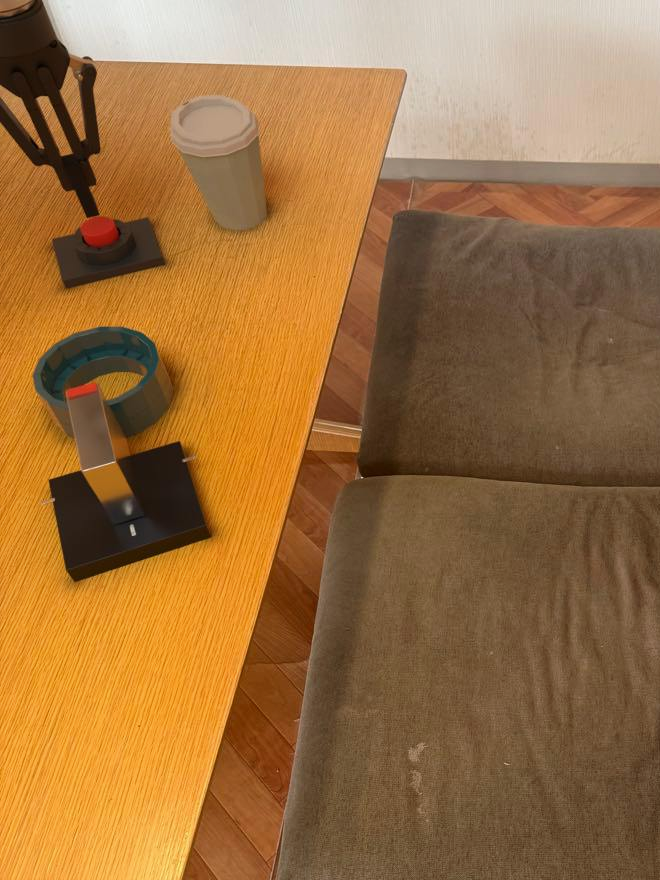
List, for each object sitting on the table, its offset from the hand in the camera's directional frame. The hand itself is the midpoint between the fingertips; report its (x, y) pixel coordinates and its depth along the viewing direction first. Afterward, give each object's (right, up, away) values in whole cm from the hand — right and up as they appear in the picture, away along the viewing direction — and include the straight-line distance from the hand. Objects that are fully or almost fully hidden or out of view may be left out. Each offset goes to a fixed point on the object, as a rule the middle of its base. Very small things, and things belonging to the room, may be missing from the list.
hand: (91, 210), depth 108 cm
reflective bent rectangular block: (+12, -34, -19) cm, 41 cm away
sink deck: (+12, -36, -16) cm, 42 cm away
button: (0, -2, +3) cm, 4 cm away
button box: (0, -4, +6) cm, 8 cm away
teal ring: (+7, -25, -9) cm, 27 cm away
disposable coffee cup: (+14, +3, +12) cm, 19 cm away
